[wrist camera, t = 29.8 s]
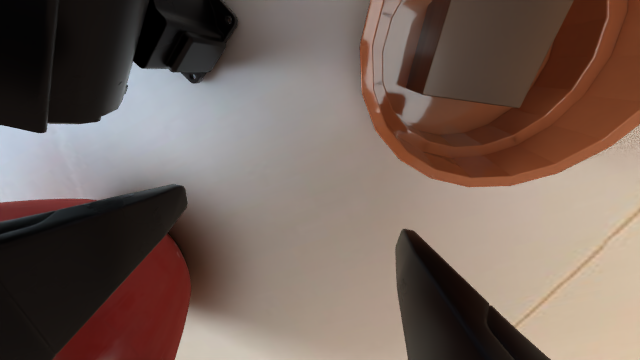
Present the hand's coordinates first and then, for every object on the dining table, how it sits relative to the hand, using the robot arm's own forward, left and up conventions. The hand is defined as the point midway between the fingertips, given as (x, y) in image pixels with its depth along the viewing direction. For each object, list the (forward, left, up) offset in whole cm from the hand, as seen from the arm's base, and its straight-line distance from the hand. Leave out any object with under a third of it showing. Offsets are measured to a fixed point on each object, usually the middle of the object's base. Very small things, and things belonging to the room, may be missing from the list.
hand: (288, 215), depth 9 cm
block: (+1, +10, -11) cm, 16 cm away
